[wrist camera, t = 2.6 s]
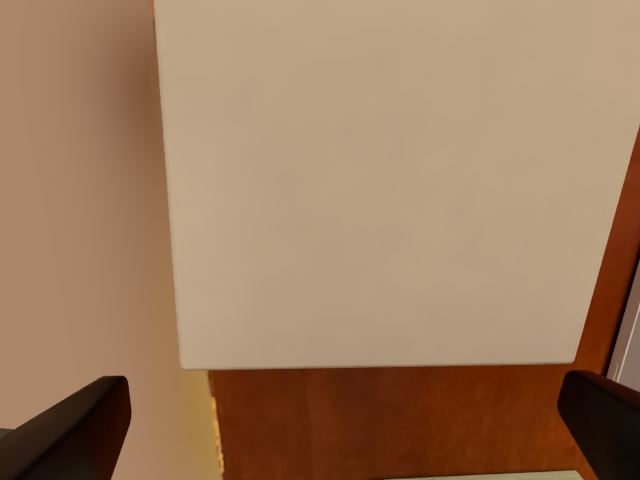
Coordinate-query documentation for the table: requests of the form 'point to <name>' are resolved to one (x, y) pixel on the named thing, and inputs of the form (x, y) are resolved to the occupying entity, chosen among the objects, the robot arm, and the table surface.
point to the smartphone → (628, 342)
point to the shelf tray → (511, 476)
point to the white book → (392, 176)
